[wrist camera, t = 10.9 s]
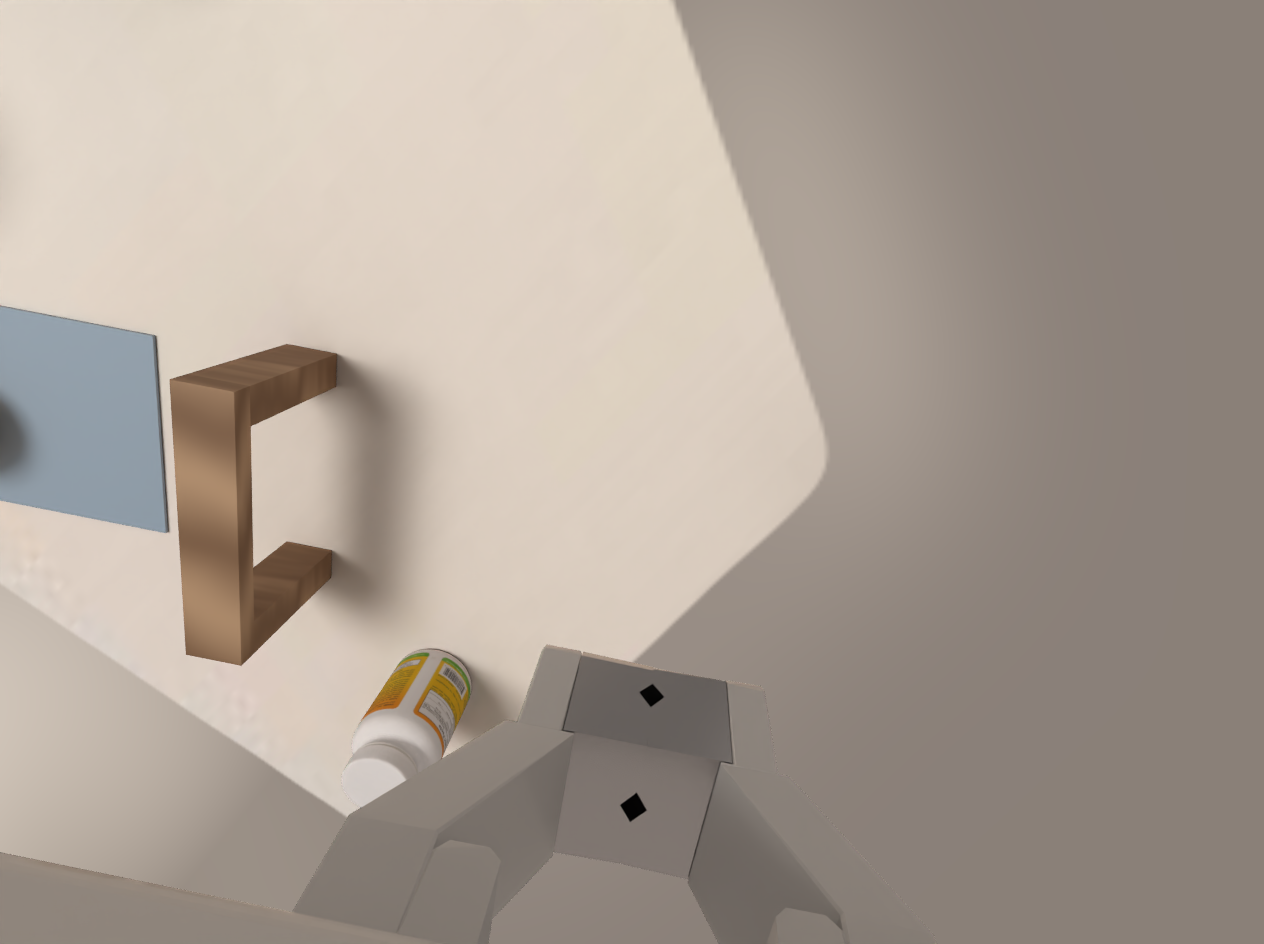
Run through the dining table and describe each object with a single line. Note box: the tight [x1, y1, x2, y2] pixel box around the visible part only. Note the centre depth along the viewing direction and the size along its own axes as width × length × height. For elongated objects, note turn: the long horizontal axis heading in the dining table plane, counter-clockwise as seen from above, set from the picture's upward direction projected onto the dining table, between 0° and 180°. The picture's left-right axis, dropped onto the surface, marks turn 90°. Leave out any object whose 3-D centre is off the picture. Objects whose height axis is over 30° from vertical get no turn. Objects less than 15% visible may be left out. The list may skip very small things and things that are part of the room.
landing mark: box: [0, 306, 168, 533], centre depth 43 cm, size 13×13×1 cm
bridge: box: [170, 344, 337, 665], centre depth 39 cm, size 15×3×10 cm, turn 170°
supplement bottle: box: [341, 649, 472, 808], centre depth 43 cm, size 5×5×10 cm
